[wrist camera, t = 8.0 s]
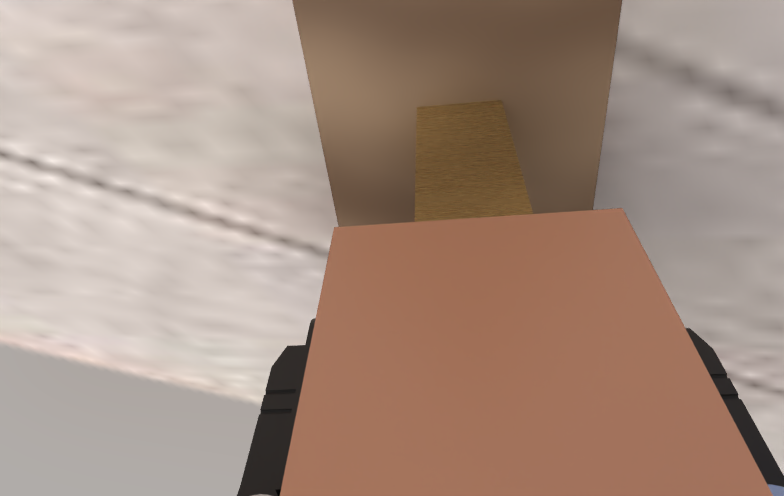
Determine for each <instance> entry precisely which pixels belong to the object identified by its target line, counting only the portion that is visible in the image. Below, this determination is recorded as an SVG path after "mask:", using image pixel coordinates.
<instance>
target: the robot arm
mask: <svg viewBox="0 0 784 496" xmlns="http://www.w3.org/2000/svg"><path fill="white" fill-rule="evenodd" d="M315 320H316V319H312V320H311V323H310V326H309V331H308V336H307V340H306V345H300V346H287V347H286V348H285V350H284V351H283V353H282V354H281V355H280V357H279V358H278V359H277V361H276V362H275V363H274V365H273V366H272V368H271V372H270V376H269V379H268V383H267V387H266V395H264V398H263V402H262V406H261V414H260V415H259V417H258V421H257V425H256V429H255V432H254V436H253V440H252V444H251V448H250V451H249V455H248V459H247V463H246V467H245V471H244V474H243V478H242V482H241V485H240V489H239V491H238V494H237V496H280V492H281V487H282V482H283V477H284V472H285V467H286V462H287V457H288V452H289V448H290V443H291V438H292V433H293V428H294V423H295V418H296V413H297V408H298V403H299V398H300V393H301V389H302V384H303V379H304V374H305V369H306V364H307V359H308V354H309V349H310V344H311V339H312V334H313V329H314V325H315ZM685 329H686V331H687V332H688V334H689V336H690V338H691V340H692V342H693V344H694V346H695V348H696V350H697V352H698V353H699V355H700V357H701V359H702V361H703V363H704V365H705V367H706V369H707V371H708V373H709V374H710V376H711V378H712V380H713V382H714V384H715V386H716V388H717V390H718V392H719V394H720V395H721V397H722V399H723V401H724V403H725V405H726V407H727V409H728V411H729V413H730V414H731V416H732V418H733V420H734V422H735V424H736V426H737V428H738V430H739V432H740V434H741V435H742V437H743V439H744V441H745V443H746V445H747V447H748V449H749V451H750V453H751V455H752V456H753V458H754V460H755V462H756V464H757V466H758V468H759V470H760V472H761V474H762V476H763V477H764V479H765V481H766V483H767V485H768V487H769V489H770V491H771V493H772V495H773V496H784V476H783V474H782V472H781V470H780V468H779V467H778V465H777V463H776V461H775V459H774V458H773V456H772V454H771V452H770V450H769V449H768V447H767V445H766V443H765V441H764V440H763V438H762V436H761V434H760V432H759V431H758V429H757V427H756V425H755V423H754V422H753V420H752V418H751V416H750V414H749V413H748V411H747V409H746V407H745V405H744V404H743V402H742V400H741V399H739V398H738V393H737V391H736V389H735V387H734V386H733V384H732V382H731V380H730V378H727V373H726V371H725V369H724V368H723V366H722V364H721V362H720V360H719V359H718V357H717V355H716V353H715V351H714V350H713V348H711V347H710V346H709V345H708V344H707V343H706V342H705V341H704V340H702V339H701V338H700V337H699V336H698V335H697V334H696V333H694V332H693V331H692V330H691V329H690V328H685Z"/></svg>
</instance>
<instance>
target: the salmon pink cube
mask: <svg viewBox="0 0 784 496" xmlns="http://www.w3.org/2000/svg"><path fill="white" fill-rule="evenodd" d="M280 496H773V495H772V493H771V491H770V489H769V487H768V485H767V483H766V481H765V479H764V477H763V476H762V474H761V472H760V470H759V468H758V466H757V464H756V462H755V460H754V458H753V456H752V455H751V453H750V451H749V449H748V447H747V445H746V443H745V441H744V439H743V437H742V435H741V434H740V432H739V430H738V428H737V426H736V424H735V422H734V420H733V418H732V416H731V414H730V413H729V411H728V409H727V407H726V405H725V403H724V401H723V399H722V397H721V395H720V394H719V392H718V390H717V388H716V386H715V384H714V382H713V380H712V378H711V376H710V374H709V373H708V371H707V369H706V367H705V365H704V363H703V361H702V359H701V357H700V355H699V353H698V352H697V350H696V348H695V346H694V344H693V342H692V340H691V338H690V336H689V334H688V332H687V331H686V329H685V327H684V325H683V323H682V321H681V319H680V317H679V315H678V313H677V312H676V310H675V308H674V306H673V304H672V302H671V300H670V298H669V296H668V294H667V292H666V291H665V289H664V287H663V285H662V283H661V281H660V279H659V277H658V275H657V273H656V271H655V270H654V268H653V266H652V264H651V262H650V260H649V258H648V256H647V254H646V252H645V250H644V249H643V247H642V245H641V243H640V241H639V239H638V237H637V235H636V233H635V231H634V230H633V228H632V226H631V224H630V222H629V220H628V218H627V216H626V214H625V212H624V210H623V209H622V208H617V209H602V210H587V211H572V212H557V213H542V214H527V215H511V216H496V217H481V218H466V219H451V220H436V221H421V222H406V223H391V224H376V225H361V226H346V227H334V231H333V236H332V241H331V246H330V251H329V256H328V261H327V265H326V270H325V275H324V280H323V285H322V290H321V295H320V300H319V305H318V310H317V315H316V320H315V325H314V329H313V334H312V339H311V344H310V349H309V354H308V359H307V364H306V369H305V374H304V379H303V384H302V389H301V393H300V398H299V403H298V408H297V413H296V418H295V423H294V428H293V433H292V438H291V443H290V448H289V452H288V457H287V462H286V467H285V472H284V477H283V482H282V487H281V492H280Z"/></svg>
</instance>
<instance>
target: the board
mask: <svg viewBox="0 0 784 496" xmlns="http://www.w3.org/2000/svg"><path fill="white" fill-rule="evenodd" d="M621 4H622V0H293V5H294V10H295V15H296V20H297V25H298V30H299V35H300V40H301V44H302V49H303V54H304V59H305V64H306V69H307V74H308V79H309V84H310V88H311V93H312V98H313V103H314V108H315V113H316V118H317V123H318V128H319V132H320V137H321V142H322V147H323V152H324V157H325V162H326V167H327V172H328V176H329V181H330V186H331V191H332V196H333V201H334V206H335V211H336V216H337V220H338V225H339V227H346V226H361V225H376V224H391V223H406V222H415V175H416V121H417V107H421V106H433V105H446V104H458V103H470V102H482V101H494V100H502V104H503V107H504V111H505V114H506V118H507V122H508V125H509V129H510V132H511V136H512V140H513V143H514V147H515V150H516V154H517V157H518V161H519V165H520V168H521V172H522V175H523V179H524V183H525V186H526V190H527V193H528V197H529V201H530V204H531V208H532V211H533V214H542V213H557V212H572V211H587V210H593V204H594V196H595V189H596V182H597V175H598V168H599V161H600V154H601V147H602V139H603V132H604V125H605V118H606V111H607V104H608V97H609V90H610V83H611V75H612V68H613V61H614V54H615V47H616V40H617V33H618V26H619V18H620V11H621Z"/></svg>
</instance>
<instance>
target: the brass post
mask: <svg viewBox="0 0 784 496" xmlns="http://www.w3.org/2000/svg"><path fill="white" fill-rule="evenodd" d="M527 214H533V211H532V208H531V204H530V201H529V197H528V193H527V190H526V186H525V183H524V179H523V175H522V172H521V168H520V165H519V161H518V157H517V154H516V150H515V147H514V143H513V140H512V136H511V132H510V129H509V125H508V122H507V118H506V114H505V111H504V107H503V104H502V100H494V101H482V102H470V103H458V104H446V105H433V106H421V107H417V121H416V175H415V222H421V221H436V220H451V219H466V218H481V217H496V216H511V215H527Z"/></svg>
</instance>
